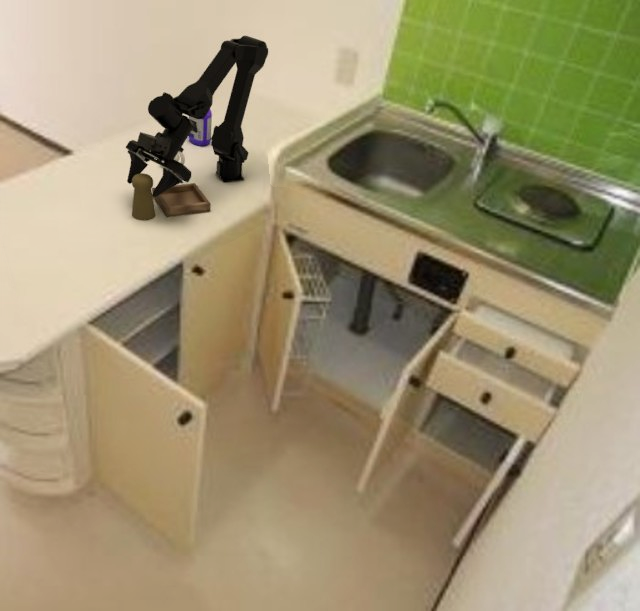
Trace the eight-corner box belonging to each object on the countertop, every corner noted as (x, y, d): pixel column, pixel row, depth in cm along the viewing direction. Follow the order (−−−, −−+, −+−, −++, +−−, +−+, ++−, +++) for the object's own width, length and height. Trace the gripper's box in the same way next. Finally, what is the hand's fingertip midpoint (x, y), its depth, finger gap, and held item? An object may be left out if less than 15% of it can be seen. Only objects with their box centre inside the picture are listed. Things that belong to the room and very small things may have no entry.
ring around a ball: (156, 168, 187) (156, 143, 183) (165, 161, 192) (165, 136, 187) (181, 175, 186) (181, 149, 181) (190, 168, 191) (190, 142, 186)
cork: (150, 222, 163) (148, 183, 156) (127, 217, 164) (125, 178, 157) (159, 211, 168) (158, 173, 161) (137, 207, 168) (136, 168, 162)
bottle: (214, 143, 207) (216, 90, 196) (202, 148, 203) (203, 94, 192) (197, 136, 209) (197, 83, 199) (185, 141, 205) (185, 87, 195)
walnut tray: (194, 191, 179) (194, 183, 178) (210, 211, 171) (210, 203, 170) (152, 196, 174) (152, 188, 172) (166, 217, 166) (166, 209, 164)
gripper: (129, 108, 159) (96, 161, 157) (183, 133, 151) (148, 189, 150) (154, 131, 169) (123, 181, 168) (206, 155, 161) (173, 208, 160)
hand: (141, 189), depth 161 cm, fingers open, 9 cm apart
